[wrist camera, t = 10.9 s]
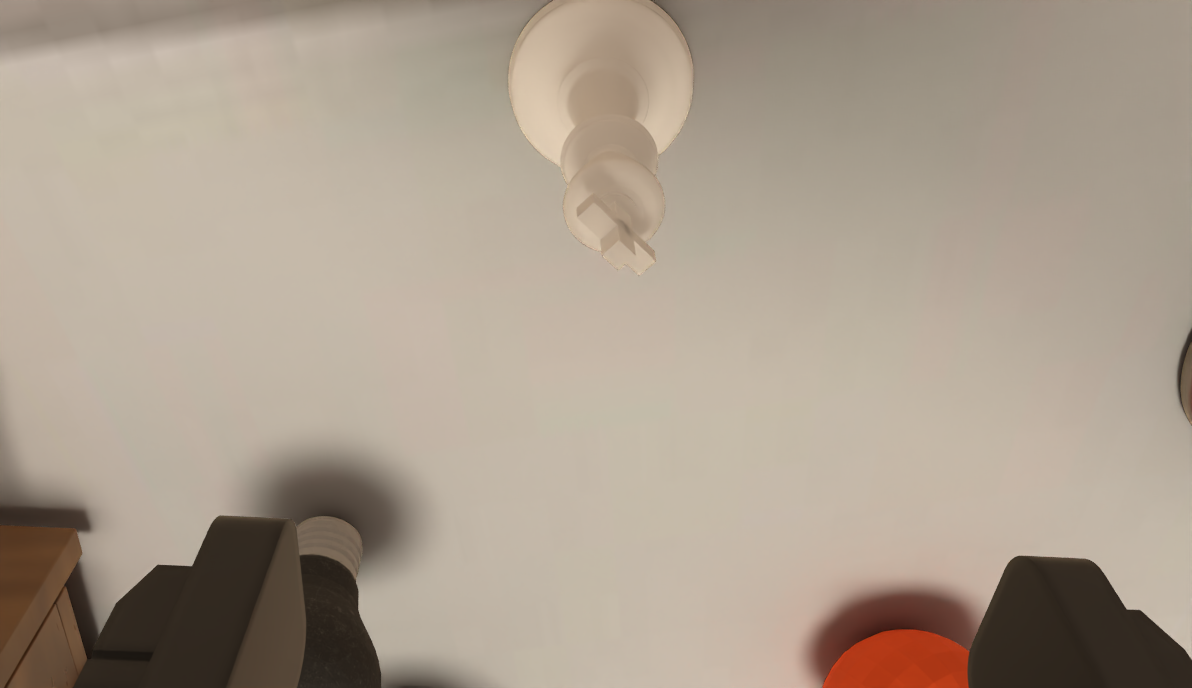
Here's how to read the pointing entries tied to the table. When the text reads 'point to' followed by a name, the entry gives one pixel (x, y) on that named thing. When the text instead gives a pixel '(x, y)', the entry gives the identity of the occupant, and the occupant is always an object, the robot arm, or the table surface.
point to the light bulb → (334, 608)
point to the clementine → (901, 662)
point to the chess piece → (604, 114)
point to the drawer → (38, 608)
